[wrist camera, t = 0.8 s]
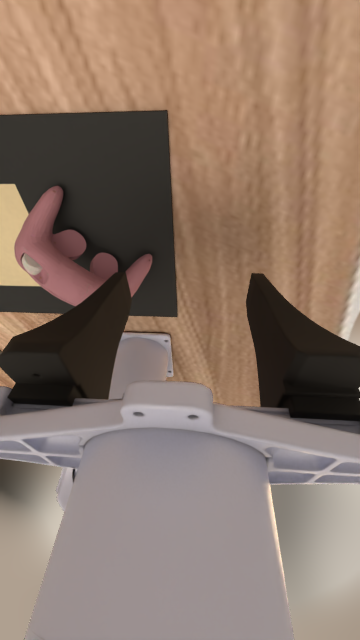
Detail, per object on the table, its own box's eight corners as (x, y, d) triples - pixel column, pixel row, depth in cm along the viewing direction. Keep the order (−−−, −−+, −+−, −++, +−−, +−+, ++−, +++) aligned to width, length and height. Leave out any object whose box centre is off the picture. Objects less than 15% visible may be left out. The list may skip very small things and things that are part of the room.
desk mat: (177, 315, 28) (177, 317, 28) (-35, 309, 30) (-36, 310, 30) (167, 110, 15) (166, 110, 15) (-203, 120, 17) (-208, 121, 17)
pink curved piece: (46, 206, 21) (-4, 269, 19) (52, 173, 18) (-10, 247, 15) (140, 271, 26) (109, 329, 23) (161, 256, 22) (127, 324, 19)
